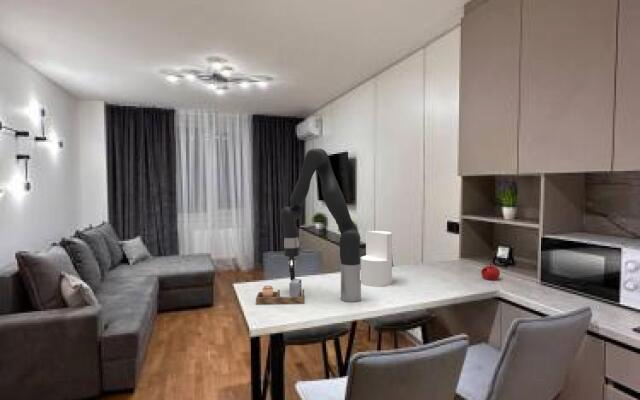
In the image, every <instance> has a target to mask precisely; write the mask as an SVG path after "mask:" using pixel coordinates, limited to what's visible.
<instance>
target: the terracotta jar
mask: <svg viewBox="0 0 640 400" xmlns="http://www.w3.org/2000/svg"><path fill="white" fill-rule="evenodd" d="M261 292H262V295H263V297H273V292H274V287H273V286H272V285H264V286H263V287H262V291H261Z"/></svg>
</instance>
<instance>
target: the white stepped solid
mask: <svg viewBox="0 0 640 400" xmlns="http://www.w3.org/2000/svg"><path fill="white" fill-rule="evenodd" d="M365 232H366V233H365V255H363V256H360V280H361V285H363V286H367V287H375V288H376V287H378V288H379V287H380V288H381V287H387V286H391V285H393V232H391V231H386V230H366V231H365Z"/></svg>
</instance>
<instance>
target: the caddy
mask: <svg viewBox="0 0 640 400" xmlns="http://www.w3.org/2000/svg"><path fill="white" fill-rule="evenodd" d="M280 291H281V290H280V289H277V291H273V297H263V295H262V291H259V292H257V295H256V297H255V305H256V306H258V305H259V306H261V305H265V306H266V305H268V306H269V305H304V304H305V288H302V295H301V297H290V296H281V293H280Z"/></svg>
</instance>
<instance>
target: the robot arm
mask: <svg viewBox="0 0 640 400" xmlns="http://www.w3.org/2000/svg"><path fill="white" fill-rule="evenodd" d="M316 172H317V174H318V176H319V179H320V184H321V185H320V186H321V194H322V197H323V200H324V203H325V205H326V208H327V210H328V211H329V213H330V215H331V216H332V217H333V219H334V220H335V222H336V223H337V227H338V229H339V233H340V237H339V258H340V300H341V301H343V302H347V303H355V302H360V301H362V283H361V255H360V242H361V235H360V233H359V230H358V229H357V228H356V225H355V223H354V221H353V219H352V216H351V214H350V211H349V208H348V204H347V202H346V199H345V197H344V195H343V192H342V190H341V188H340V185H339V182H338V179H336V176H335V174H334V173H335V172H334V170H333V168H332V164H331V160H330V158H329V155H328V153H327V151H326V150H325V149H323V148H319V147H318V148H311V149H309V150H308V151H307V152H306V154H305V157H304V159H303V164H302V167H301V171H300V174H299V176H298V180H297V181H296V184H295V187H294V189H293V191H292V193H291V195H290V199H289V201H290V203H291V205H290V206H285V207H284V208H283V207H282V209H281V210H280V211H281V212H280V220H281V222H282V223H281V224H282V229H283V232H284V233H283V234H284V235H283V236H284V237H283V239H284V240H283V248H284V251H283V252H284V253H283V254H284V257H288V259H287V264H288V271H289V277H290V282H291V281H292V280H293V279H296V275H295V274H296V269H297V268H296V267H297V265H296V264H297V258H295V257H299V256H300V240H299V227H298V226H297V225H294V221H296V220H298V219H299V218H300V217H301V214H302V211H303V207H304V202H305V200H306V198H307V196H308V193H309V191H310V186H311V180H312V178H313V176H314V174H315V173H316Z"/></svg>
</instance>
